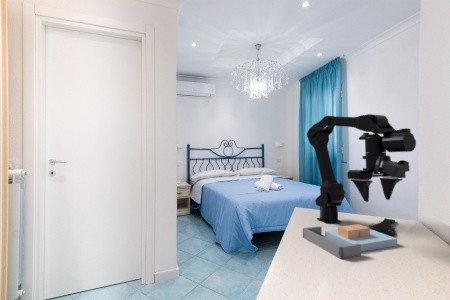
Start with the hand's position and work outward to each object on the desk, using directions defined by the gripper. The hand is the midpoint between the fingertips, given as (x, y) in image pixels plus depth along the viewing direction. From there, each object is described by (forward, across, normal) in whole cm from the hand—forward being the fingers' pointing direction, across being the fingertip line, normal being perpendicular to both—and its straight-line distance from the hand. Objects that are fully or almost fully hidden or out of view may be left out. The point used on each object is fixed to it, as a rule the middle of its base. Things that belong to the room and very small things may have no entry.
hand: (377, 200), depth 74 cm
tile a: (+10, -8, 0) cm, 13 cm away
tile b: (+10, -12, 0) cm, 16 cm away
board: (+12, -8, 0) cm, 14 cm away
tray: (+12, -19, 0) cm, 23 cm away
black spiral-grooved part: (+13, +12, +8) cm, 19 cm away
